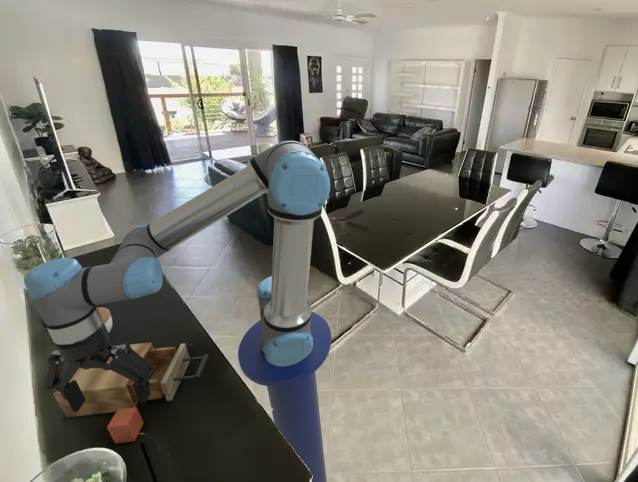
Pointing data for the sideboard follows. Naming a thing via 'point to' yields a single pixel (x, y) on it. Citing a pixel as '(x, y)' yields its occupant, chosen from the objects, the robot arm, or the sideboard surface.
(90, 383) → the cabinet
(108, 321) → the trinket box
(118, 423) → the block
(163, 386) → the drawer
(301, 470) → the sideboard surface
